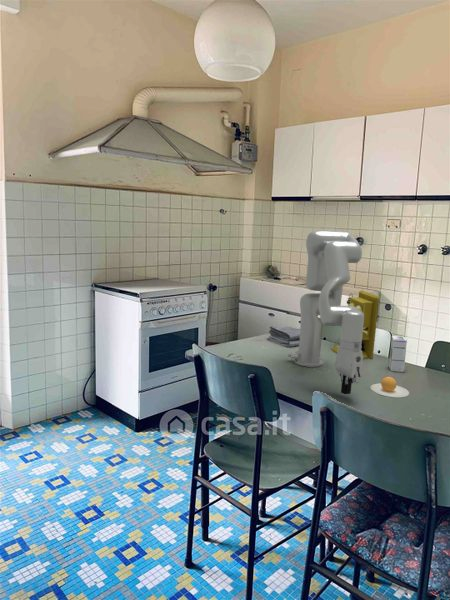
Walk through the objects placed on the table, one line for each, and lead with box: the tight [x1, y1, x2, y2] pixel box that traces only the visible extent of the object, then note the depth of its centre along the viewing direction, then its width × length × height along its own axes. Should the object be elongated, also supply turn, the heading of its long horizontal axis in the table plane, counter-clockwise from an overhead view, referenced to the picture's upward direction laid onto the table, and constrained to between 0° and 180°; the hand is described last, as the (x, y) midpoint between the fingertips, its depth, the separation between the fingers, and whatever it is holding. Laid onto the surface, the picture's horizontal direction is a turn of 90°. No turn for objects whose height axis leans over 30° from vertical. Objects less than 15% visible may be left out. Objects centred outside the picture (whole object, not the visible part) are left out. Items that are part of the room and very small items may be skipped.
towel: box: [266, 325, 300, 348], centre depth 236 cm, size 15×18×8 cm
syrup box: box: [388, 335, 408, 373], centre depth 198 cm, size 6×6×14 cm
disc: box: [370, 382, 410, 399], centre depth 174 cm, size 14×14×1 cm
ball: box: [380, 376, 398, 391], centre depth 173 cm, size 6×6×6 cm
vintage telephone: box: [331, 289, 380, 360], centre depth 219 cm, size 31×14×30 cm, turn 9°
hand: (345, 393), depth 165 cm, fingers closed
